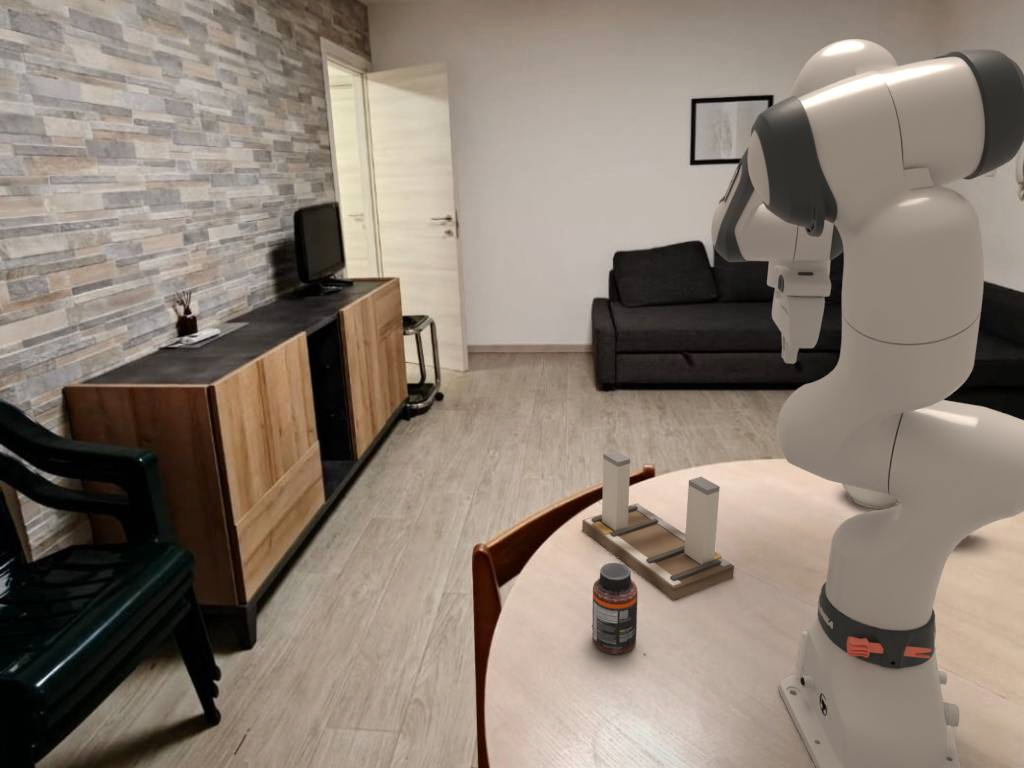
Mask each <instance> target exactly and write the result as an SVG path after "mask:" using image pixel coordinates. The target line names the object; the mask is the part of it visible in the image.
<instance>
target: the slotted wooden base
mask: <svg viewBox="0 0 1024 768" xmlns="http://www.w3.org/2000/svg"><path fill="white" fill-rule="evenodd" d="M581 522H582V524H581V526H582V529H581V530H582V531H583V532H584V533H585V534H587V535H588V536H589V537H591V538H592V539H593V540H595V542H597V543H598V544H599V545H600V546H602V547H603V548H605V549H606V550H607V551H609V553H611V554H613V555H614V557H616V558H618V559H619V560H620V561H621V562H623V563H624V564H626V566H627V567H628V568H629V567H630V568H631V569H632V570H633V571H635V572H636V573H637V574H638V575H640V576H641V577H642V578H644V579H645V580H646V581H648V582H649V583H650V584H651V585H652V586H654V587H655V588H656V589H658V590H659V591H661V592H662V593H663V594H665V595H666V596H667V597H669V598H670V599H671V600H672V601H675V600H678V599H681V598H683V597H686V596H688V595H691V594H694V593H696V592H697V593H698V592H699V591H701V590H703V589H706V588H708V587H713V585H717V584H720V583H721V582H724V581H727V580H730V579H731V578H734V573H735V565H734V564H732V563H731V562H729V561H727V560H726V559H725V558H723V557H722V555H720V554H719V553H717V552H716V551H715V553H714V560H713V561H711V562H708V563H705V564H703V565H701V564H700V563H698V562H697V561H695V560H694V559H692V558H691V557H689V556H688V555H687V554H685V553H684V550H685V534H686V533H684V532H682V531H681V530H680V529H678V528H676V527H675V526H674V525H671V524H670V523H668V522H667V521H665V520H664V519H662V518H661V517H659V516H658V515H656V514H655V513H653V512H651V511H650V510H648V509H647V508H645V507H644V506H642V505H641V504H640V503H634V504H630V505H629V507H628V527H627V528H624V529H621V530H618V531H614V530H613V529H611V528H610V527H609V526H607V525H606V524H604V523H603V522H602V513H601V514H598V515H594V516H591V517H588V518H586V519H584V518H583V519H582V521H581Z"/></svg>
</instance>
